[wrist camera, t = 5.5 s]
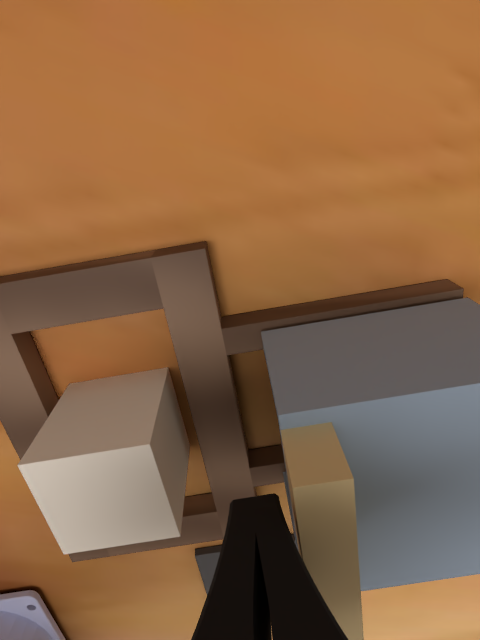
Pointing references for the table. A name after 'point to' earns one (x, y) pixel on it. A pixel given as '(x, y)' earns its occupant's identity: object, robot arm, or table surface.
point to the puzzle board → (191, 351)
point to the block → (111, 462)
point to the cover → (381, 447)
